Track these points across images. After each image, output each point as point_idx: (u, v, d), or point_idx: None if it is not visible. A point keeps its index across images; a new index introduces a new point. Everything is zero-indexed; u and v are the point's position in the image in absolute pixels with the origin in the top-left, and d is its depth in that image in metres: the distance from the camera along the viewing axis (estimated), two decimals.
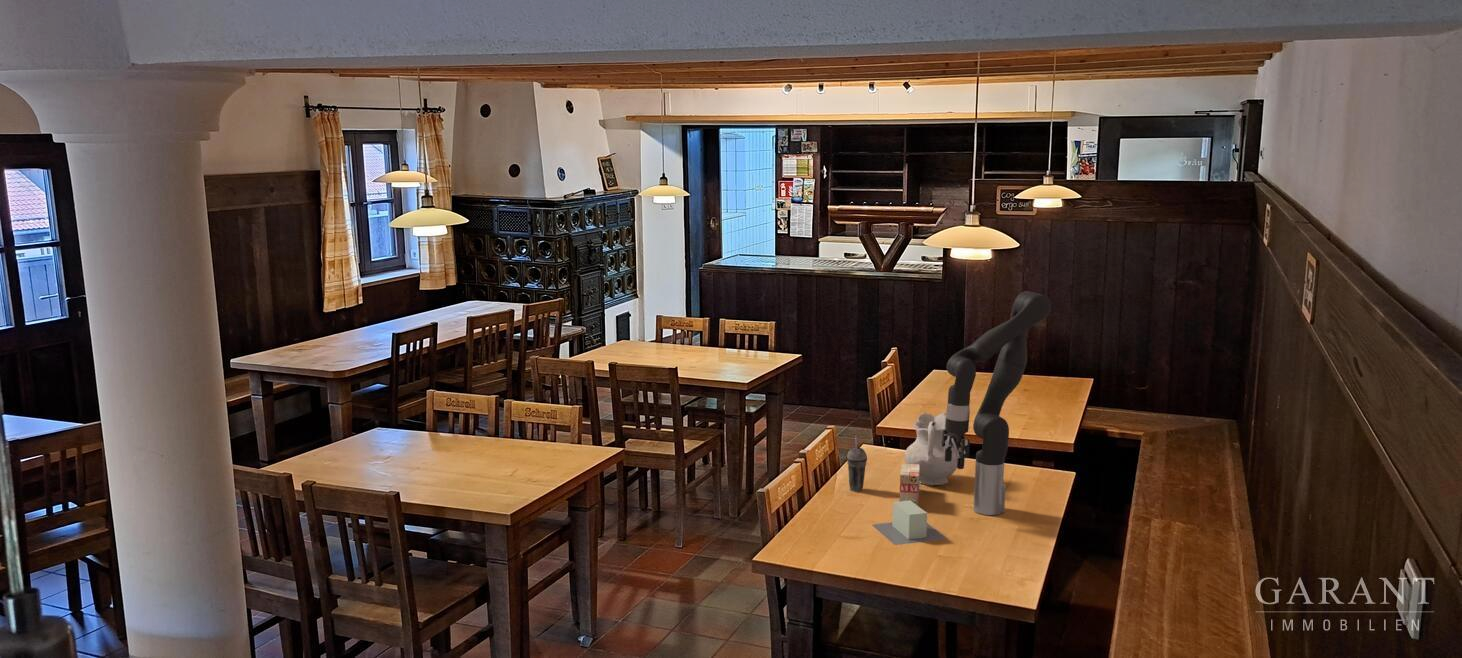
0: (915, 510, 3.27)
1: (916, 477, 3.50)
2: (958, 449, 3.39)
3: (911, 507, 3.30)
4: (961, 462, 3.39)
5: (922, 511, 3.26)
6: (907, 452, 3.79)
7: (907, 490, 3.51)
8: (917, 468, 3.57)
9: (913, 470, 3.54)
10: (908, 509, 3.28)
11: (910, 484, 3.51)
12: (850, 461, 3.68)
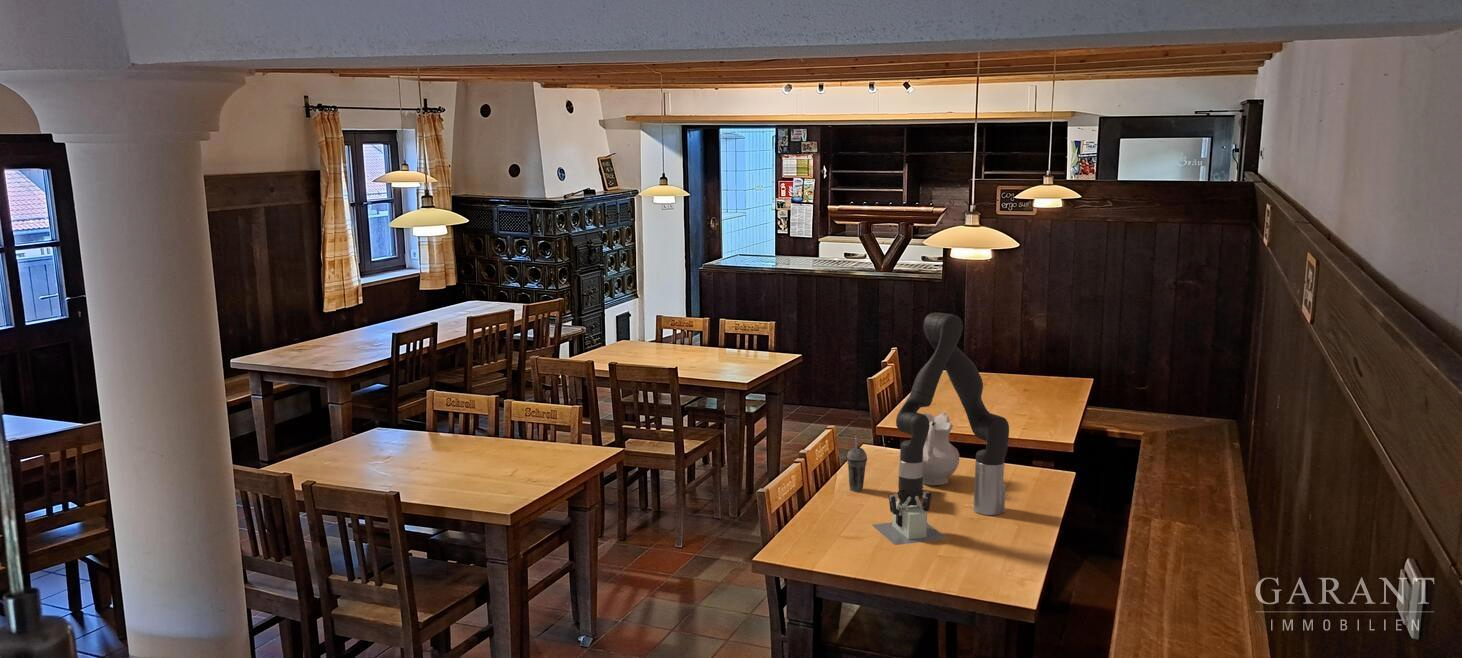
0: (915, 510, 3.27)
1: None
2: None
3: (911, 507, 3.30)
4: None
5: (922, 511, 3.26)
6: None
7: None
8: None
9: None
10: (908, 509, 3.28)
11: None
12: (850, 461, 3.68)
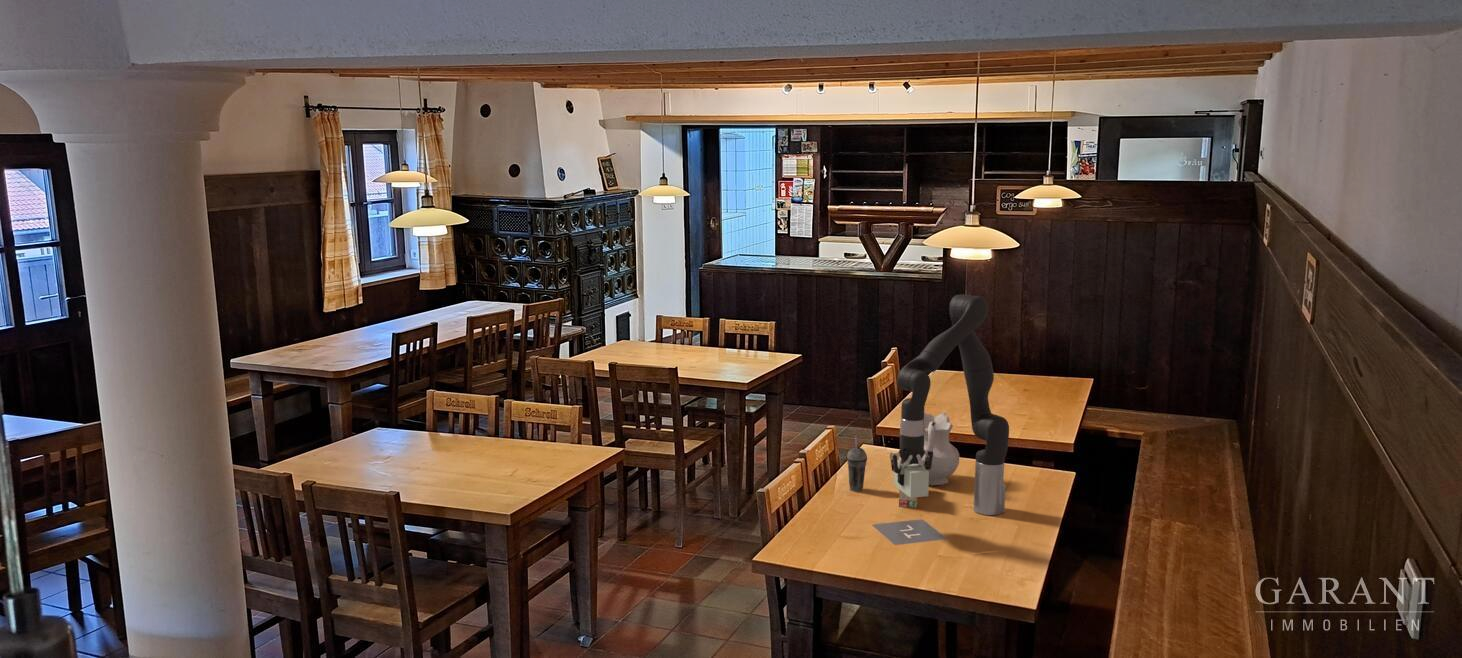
0: (917, 469, 3.24)
1: None
2: None
3: (913, 466, 3.27)
4: None
5: (924, 469, 3.24)
6: None
7: None
8: None
9: None
10: (909, 467, 3.26)
11: None
12: (850, 461, 3.68)
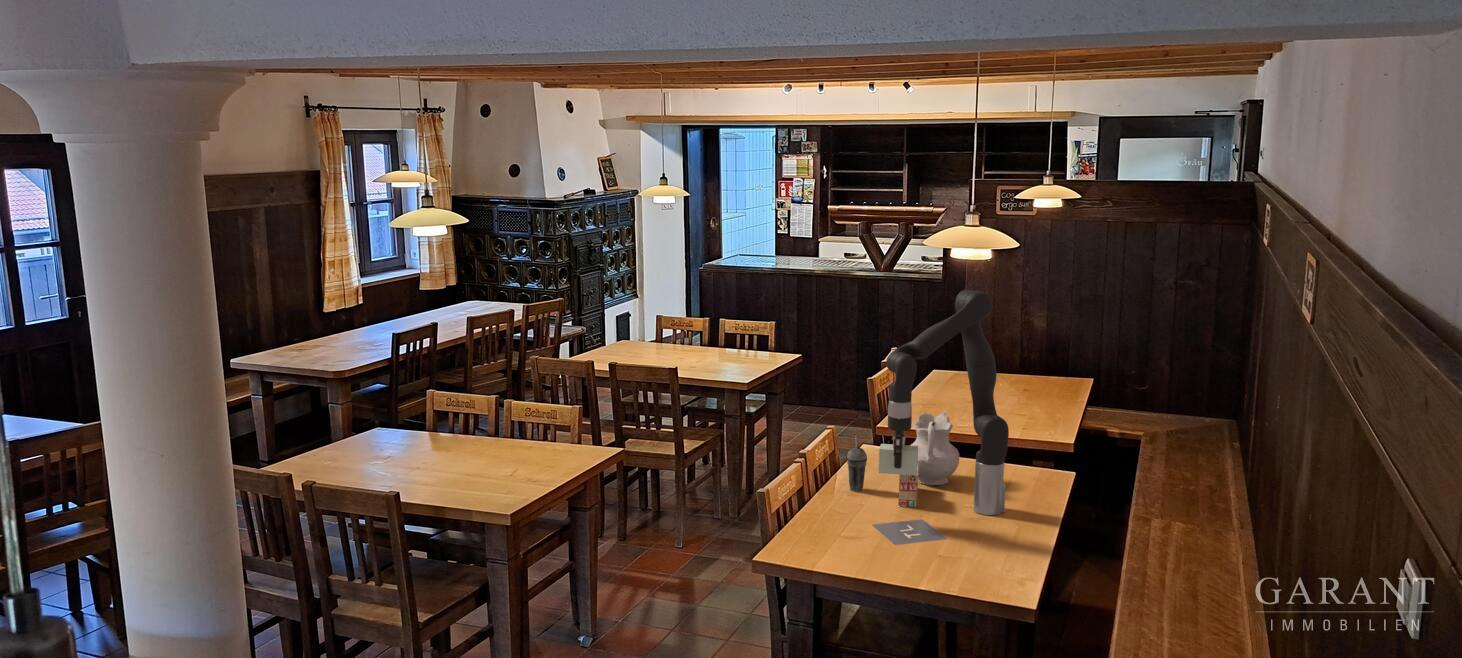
0: (909, 447, 3.35)
1: (915, 476, 3.51)
2: None
3: None
4: None
5: (913, 446, 3.37)
6: None
7: (906, 489, 3.53)
8: None
9: None
10: None
11: (909, 482, 3.52)
12: (850, 461, 3.68)
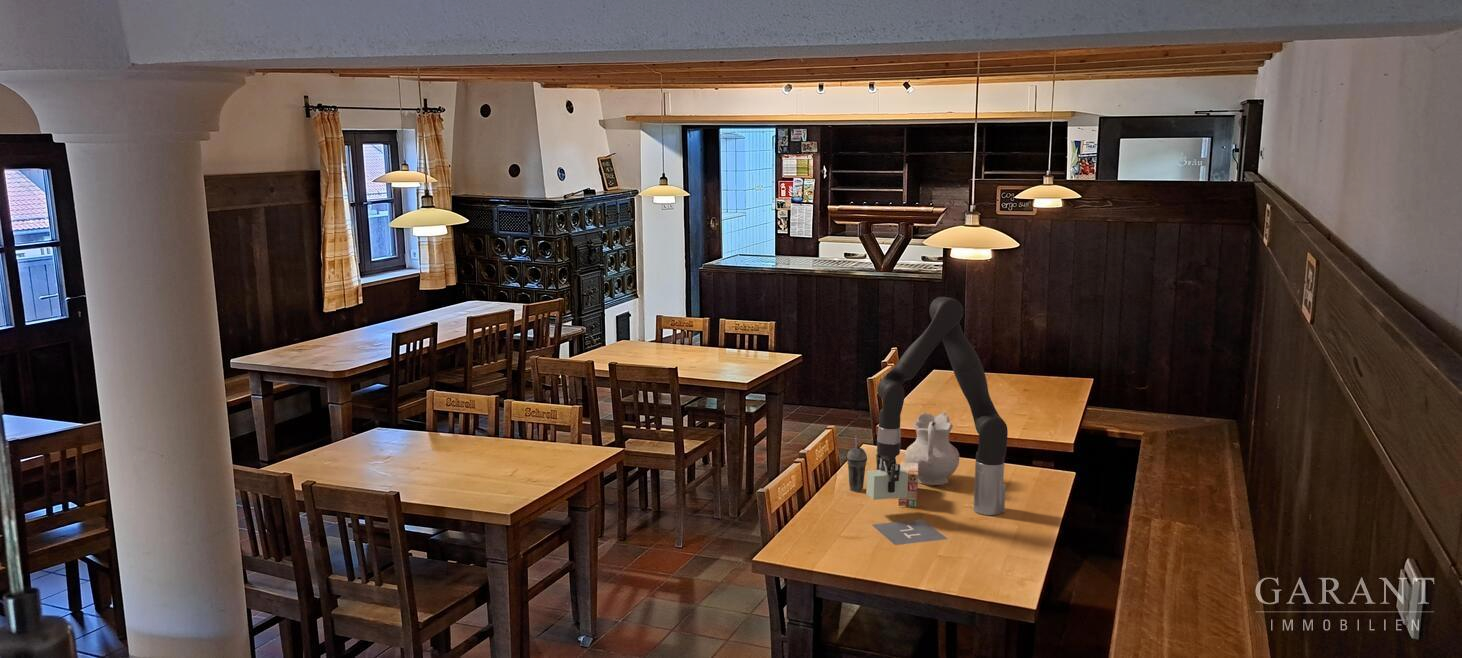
0: None
1: (915, 475, 3.52)
2: None
3: None
4: None
5: None
6: (907, 452, 3.79)
7: None
8: (916, 466, 3.59)
9: (912, 469, 3.56)
10: None
11: (909, 482, 3.52)
12: (850, 461, 3.68)
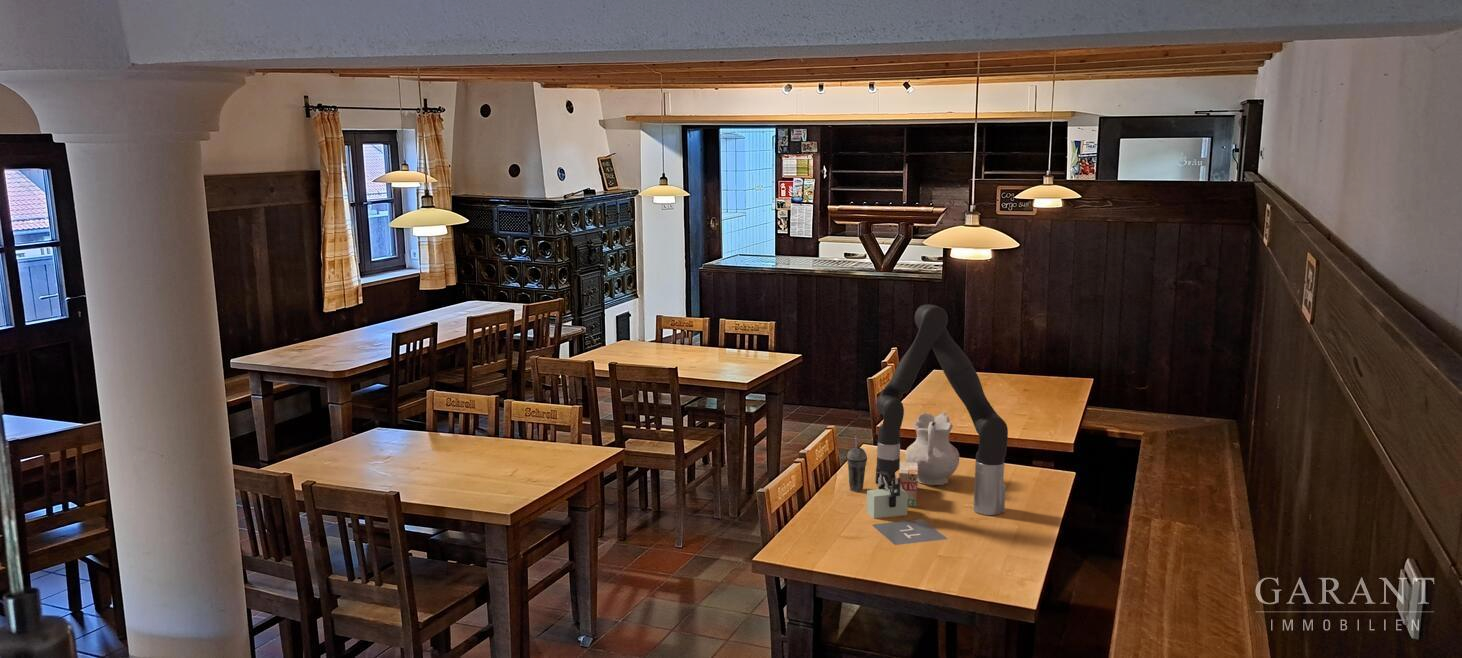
0: None
1: (915, 475, 3.52)
2: None
3: (887, 491, 3.46)
4: None
5: None
6: (907, 452, 3.79)
7: (906, 488, 3.53)
8: (915, 466, 3.59)
9: (912, 469, 3.56)
10: None
11: (908, 482, 3.53)
12: (850, 461, 3.68)
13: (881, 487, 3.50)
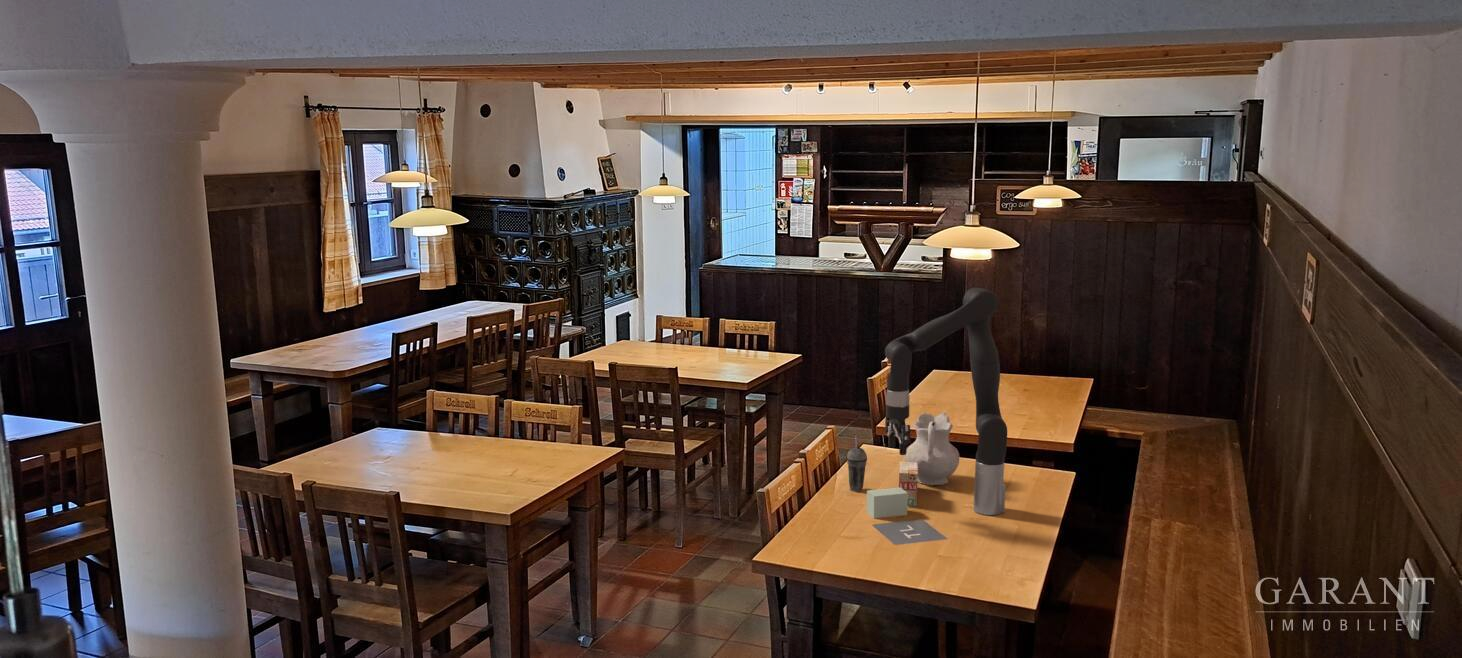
0: (896, 490, 3.47)
1: (915, 475, 3.52)
2: None
3: (887, 491, 3.46)
4: None
5: (896, 488, 3.49)
6: (907, 452, 3.79)
7: (906, 488, 3.54)
8: (915, 466, 3.59)
9: (912, 468, 3.57)
10: (892, 492, 3.45)
11: (908, 482, 3.53)
12: (850, 461, 3.68)
13: (891, 436, 3.46)
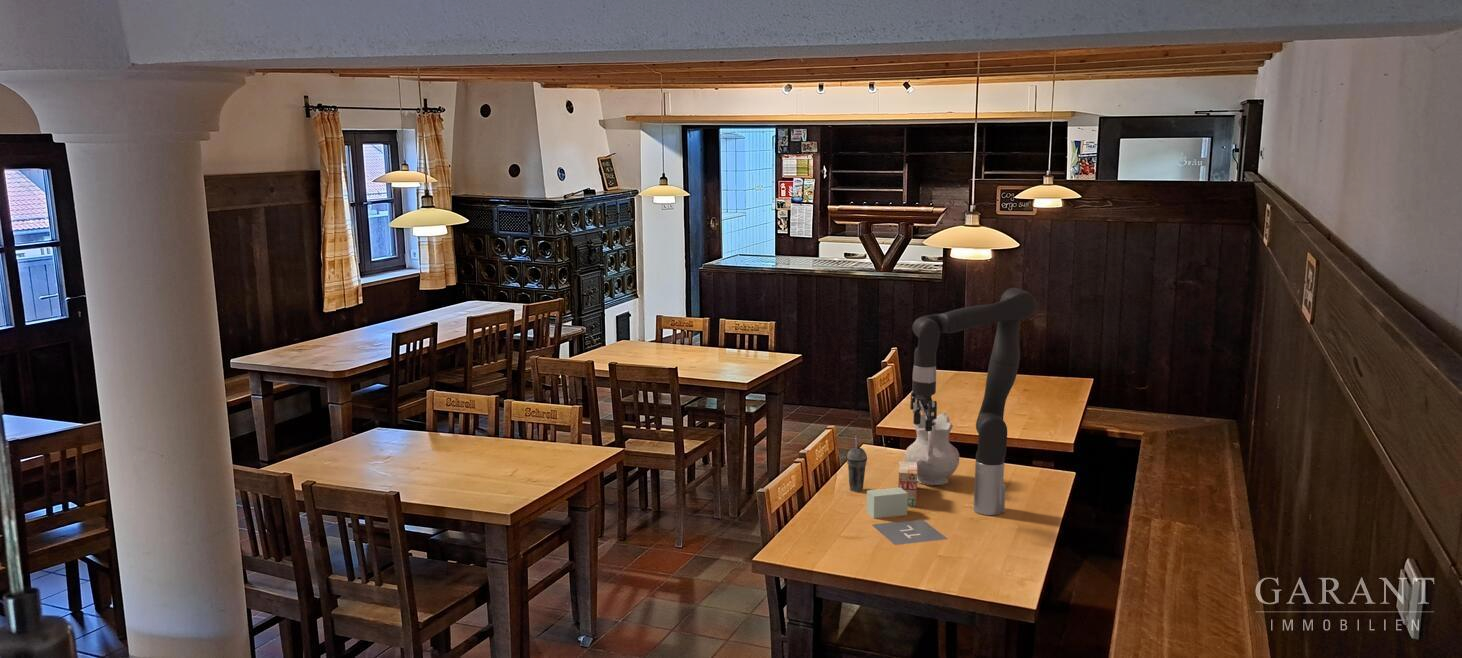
0: (896, 490, 3.47)
1: (914, 475, 3.53)
2: None
3: (887, 491, 3.46)
4: None
5: (896, 488, 3.49)
6: (907, 452, 3.79)
7: (905, 488, 3.54)
8: (915, 466, 3.60)
9: (911, 468, 3.57)
10: (892, 492, 3.45)
11: (908, 481, 3.53)
12: (850, 461, 3.68)
13: (916, 412, 3.44)
